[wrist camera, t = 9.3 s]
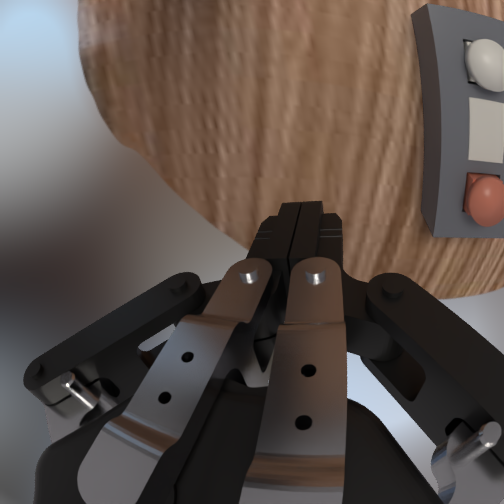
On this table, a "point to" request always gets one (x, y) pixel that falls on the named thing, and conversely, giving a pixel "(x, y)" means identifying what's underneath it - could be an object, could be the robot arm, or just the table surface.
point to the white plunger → (485, 64)
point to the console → (456, 118)
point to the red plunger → (484, 198)
